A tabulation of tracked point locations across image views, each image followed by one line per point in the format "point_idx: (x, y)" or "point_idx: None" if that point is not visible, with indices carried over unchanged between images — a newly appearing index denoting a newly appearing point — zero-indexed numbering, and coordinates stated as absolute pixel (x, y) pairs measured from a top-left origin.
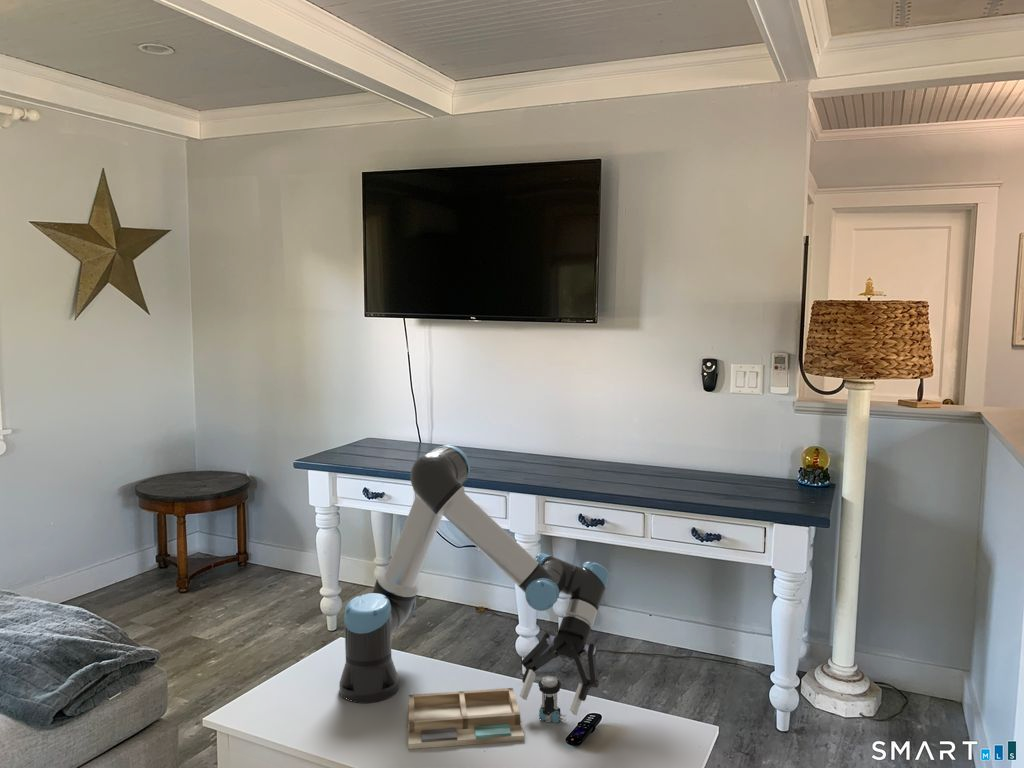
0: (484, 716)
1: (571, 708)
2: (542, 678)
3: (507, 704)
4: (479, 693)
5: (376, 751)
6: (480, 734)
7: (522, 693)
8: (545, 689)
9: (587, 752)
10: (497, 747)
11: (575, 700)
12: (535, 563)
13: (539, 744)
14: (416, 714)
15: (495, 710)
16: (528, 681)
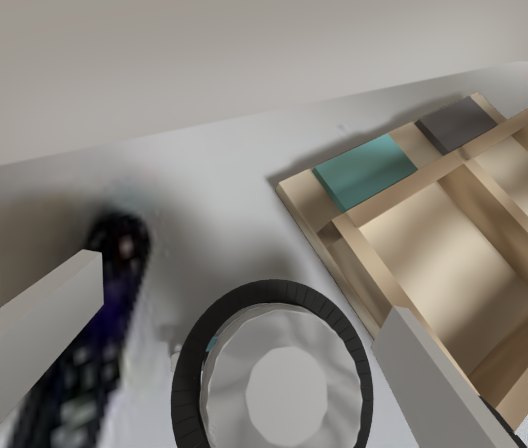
0: (423, 174)
1: (87, 258)
2: (357, 378)
3: None
4: None
5: (500, 86)
6: (381, 140)
7: (403, 314)
8: (274, 280)
9: (59, 187)
10: (322, 145)
11: (34, 286)
12: None
13: (225, 185)
14: None
15: (434, 293)
16: (447, 395)
